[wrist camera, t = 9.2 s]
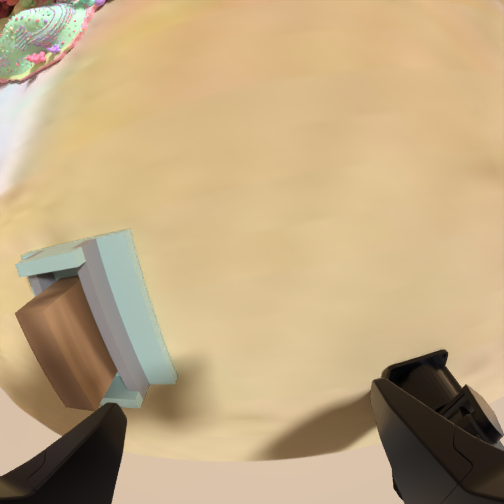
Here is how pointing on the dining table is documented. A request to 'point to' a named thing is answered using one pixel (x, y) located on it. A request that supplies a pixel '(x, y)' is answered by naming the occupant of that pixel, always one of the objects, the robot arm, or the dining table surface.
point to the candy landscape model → (39, 33)
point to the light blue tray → (111, 308)
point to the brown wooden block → (68, 343)
